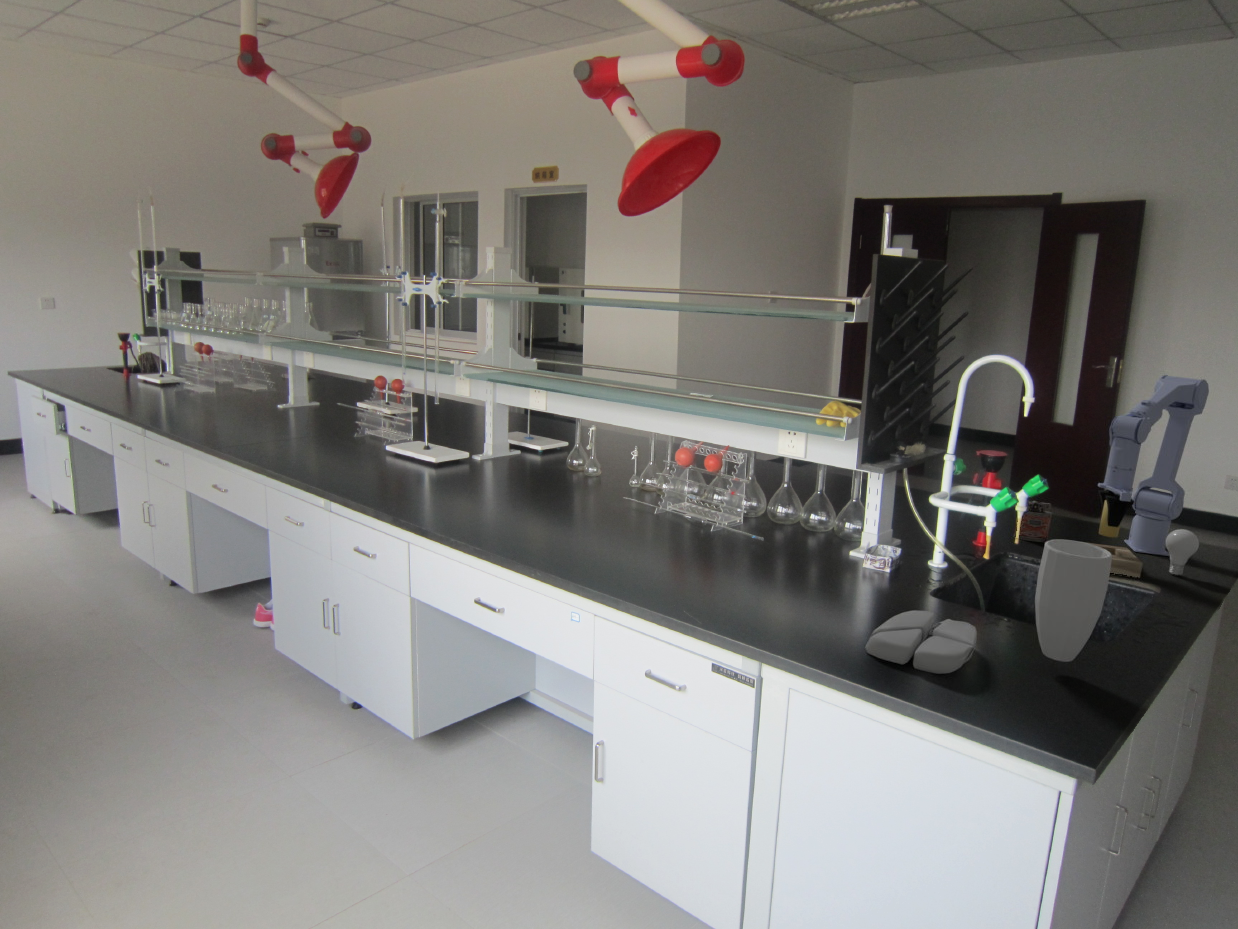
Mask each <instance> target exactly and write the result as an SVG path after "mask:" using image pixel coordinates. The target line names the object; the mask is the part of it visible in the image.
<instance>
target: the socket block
mask: <svg viewBox="0 0 1238 929" xmlns="http://www.w3.org/2000/svg"><path fill="white" fill-rule="evenodd" d="M1083 542H1084V541H1083ZM1084 543H1086V541H1085V542H1084ZM1087 543H1088V544H1091V545H1095V546H1098V547H1101V548H1103V549H1106V550H1107V551H1108V552H1110V553H1111V554H1112V562H1111V568H1110V573H1114V574H1113V575H1115V574H1123V575H1127V576H1126V577H1130V576H1132V578H1137V577H1138V578H1139V579H1140V578H1141V574H1142V569H1143V564H1144V563H1143V562H1142V561H1141V560H1140V558H1138V557H1137V556H1136V555H1134V553H1133V552H1132V551H1131V550H1130V549H1129V548H1128V547H1123V546H1115V545H1107V544H1098V543H1094V542H1093V543H1091V542H1087Z"/></svg>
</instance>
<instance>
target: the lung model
mask: <svg viewBox="0 0 1238 929" xmlns="http://www.w3.org/2000/svg"><path fill="white" fill-rule="evenodd" d="M934 619H935V614H934V612H933V611H930V610H929V611H928V610H914V609H913V610H908V611H904V612H901V613H899V614H896V615H894V616H892V617H891V618H889V619H887V620H885V622H883V623H882V624H881V625H880V626H878V627H877V628H875V629H874V630H873V631H872V633H871V635H870V637H869V638H868V639H867V643H866V645H865V647H864V648H865V651H866V653H867V654H869V655H871V656H873V657H876V658H878V659H880V660H884V661H886V662H887V661H888V662H892V663H896V664H899V665H905V664H906V663H908V662H909V661H910V660H911V658H913V660H912V665H913V668H914V669H916V670H919V671H923V672H927V673H931V674H937V675H942V674H951V673H953V672H955V671H957V670H959V669H960V668H961V667H963V664H965V663H967V662H968V661H969V660H971V657H972V655H973V653H974V651H975V648H976V645H977V641H978V640H977V639H978V631H977V627H976V626H974V625H972V624H970V623H969V622H967V621H960V620H953V619H950V618H947V619H945V620H943V621H939V622H936V623H933V621H934ZM932 630H933V632H932V636H929V637H928V635H929V634H930V631H932ZM927 637H928V638H927Z"/></svg>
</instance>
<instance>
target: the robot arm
mask: <svg viewBox="0 0 1238 929" xmlns="http://www.w3.org/2000/svg"><path fill="white" fill-rule="evenodd" d="M1153 390H1154V392H1153V394H1152V396H1151V397H1150V398H1149V399H1142V400H1141V401H1139V402H1138V403H1137V404H1135V406H1134V407H1132V408H1131V409H1130V410H1129V411H1128V412H1127V413H1126V414H1124V415H1123V414H1121V415H1119V416H1115V417H1114V418H1113V420H1111V424H1110V426H1109V433H1108V434H1109V442H1108V443H1109V446H1110V451H1109V455H1108V456H1109V457H1108V461H1107V466H1106V470H1105V471H1106V472H1105V476H1104V479H1103V480H1104V481H1103V482H1098V483H1097V487H1099V488H1102V489H1101V490H1100V489H1098V491H1097V493H1098V495H1099V498H1100V502H1101V503H1100V504H1101V514H1102V513H1103V508H1104V503H1105V500H1106V501H1107V506H1108V518H1107V523H1108V526H1111V527H1119V525H1120V526H1121V524H1120V523H1122V521H1123V519H1124V517H1125V515H1126V513H1127V512H1128V510H1129V509H1130V508H1131V507H1132V509H1133V510H1134V511H1135V512H1134V514H1136V515H1135V516H1133V518H1132V521H1131V527H1130V530H1129V536H1128V539H1124V540H1123V541H1124V543H1126V545H1127V546H1128V547H1129V548H1130V549H1131V550H1133V552H1137V553H1141V554H1142V553H1143V554H1151V555H1157V556H1158V555H1159V556H1164V557H1165V556H1166V557H1170V554H1169V551H1168V550H1166V543H1165V542H1166V538H1167V536H1168V535H1169V531H1170V528H1171V522H1172V520H1175V519H1177V518H1178V517H1179V516H1180V515H1181V513H1182V512H1183V508H1184V502H1185V501H1184V499H1185V498H1184V497H1185V489H1184V488H1183V487H1182V486H1181V485H1180V484H1179V483H1178V482H1177V481H1176V477H1177V474H1178V470H1179V467H1180V463H1181V460H1182V457H1183V454H1184V449H1185V447H1186V443H1187V441H1188V437H1189V433H1190V430H1191V426H1192V423H1193V420H1194V418H1195V416H1198V415H1201V414H1203V411H1204V409H1205V406H1206V403H1207V400H1208V397H1209V393H1210V389H1209V383H1208V382H1207V380H1206V379H1202V378H1201V379H1198V378H1189V377H1181V376H1173V375H1167V374H1163V375H1161V376H1160V377H1159V378H1158V379H1157V381H1156V382H1155V385H1154V389H1153ZM1163 410H1165V411H1166V412H1168V416H1169V417H1168V420H1167V424H1166V427H1165V431H1164V434H1163V437H1162V441H1161V444H1160V447H1159V452H1158V455H1157V458H1156V462H1155V465H1154V469H1153V472H1152V476H1150V477H1148V478H1144V479H1142V480H1140V481H1139V483H1138V484H1137V486H1136V489H1135V491H1134V493H1133V490H1134V488H1133V485H1134V482H1135V478H1136V477H1135V476H1136V471H1137V466H1138V461H1139V456H1140V452H1141V447H1142V444H1144V442H1145V441H1147V439H1148V436H1149V434H1150V432H1151V431H1152V427H1153V426H1154V425H1155V424H1156V423H1157V422H1158V421H1159V420H1160V419H1162V417H1163ZM1152 488H1153V489H1152ZM1103 489H1105V490H1103ZM1156 489H1159V490H1156ZM1162 490H1163V491H1162Z"/></svg>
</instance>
